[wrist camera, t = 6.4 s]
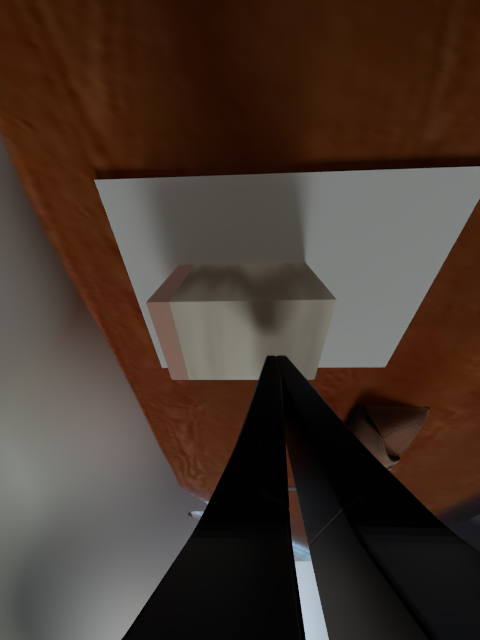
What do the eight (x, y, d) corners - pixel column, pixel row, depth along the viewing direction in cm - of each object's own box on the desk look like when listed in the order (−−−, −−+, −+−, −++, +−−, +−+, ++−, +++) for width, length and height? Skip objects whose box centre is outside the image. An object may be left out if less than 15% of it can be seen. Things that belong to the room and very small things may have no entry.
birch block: (336, 299, 8) (146, 302, 8) (314, 379, 11) (171, 379, 11) (305, 262, 12) (178, 264, 12) (294, 326, 15) (191, 327, 15)
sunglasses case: (372, 471, 31) (370, 523, 26) (326, 446, 34) (316, 487, 29) (435, 404, 21) (449, 467, 16) (360, 377, 24) (354, 423, 19)
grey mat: (489, 166, 10) (497, 165, 9) (382, 363, 17) (385, 367, 17) (99, 180, 10) (94, 180, 10) (163, 364, 18) (162, 367, 18)
